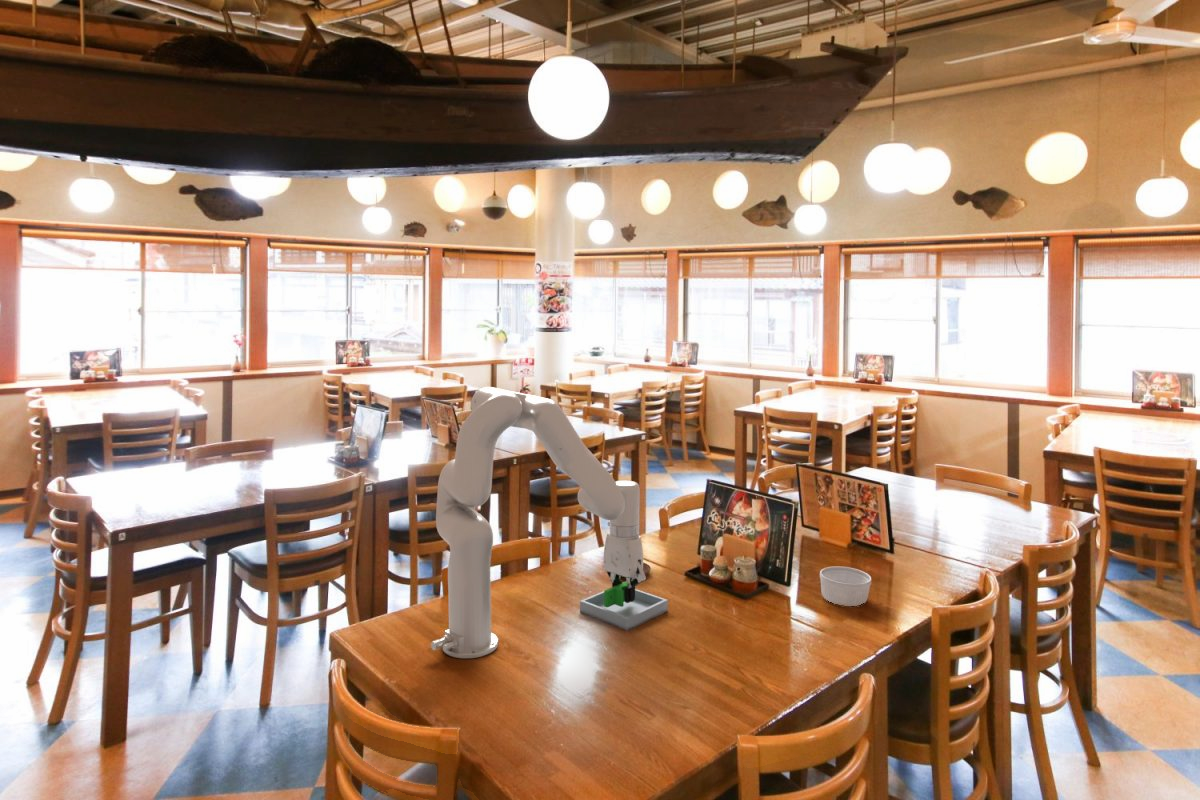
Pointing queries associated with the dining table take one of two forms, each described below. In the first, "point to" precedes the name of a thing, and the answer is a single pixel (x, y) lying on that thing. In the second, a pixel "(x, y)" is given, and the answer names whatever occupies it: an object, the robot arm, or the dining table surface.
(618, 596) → the green branched block
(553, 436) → the robot arm
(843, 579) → the ramekin
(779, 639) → the dining table surface
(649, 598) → the tray
